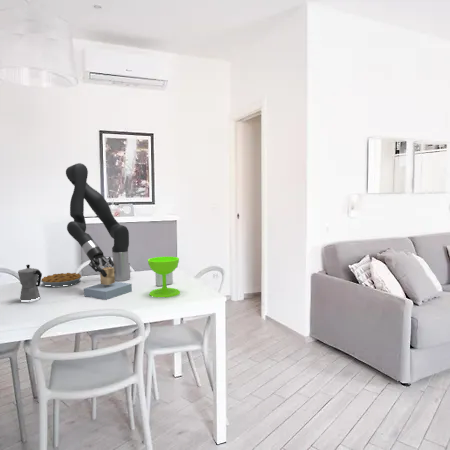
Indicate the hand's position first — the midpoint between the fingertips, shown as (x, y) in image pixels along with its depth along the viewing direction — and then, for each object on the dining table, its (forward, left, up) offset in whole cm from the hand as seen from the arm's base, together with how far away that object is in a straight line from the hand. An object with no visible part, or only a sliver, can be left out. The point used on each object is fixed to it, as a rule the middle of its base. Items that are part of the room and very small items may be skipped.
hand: (109, 274), depth 204 cm
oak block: (0, -2, -5) cm, 5 cm away
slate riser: (0, -2, -10) cm, 10 cm away
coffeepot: (+26, -28, -10) cm, 39 cm away
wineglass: (-13, +25, -10) cm, 30 cm away
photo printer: (-28, +13, -10) cm, 33 cm away
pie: (-5, -45, -11) cm, 46 cm away
